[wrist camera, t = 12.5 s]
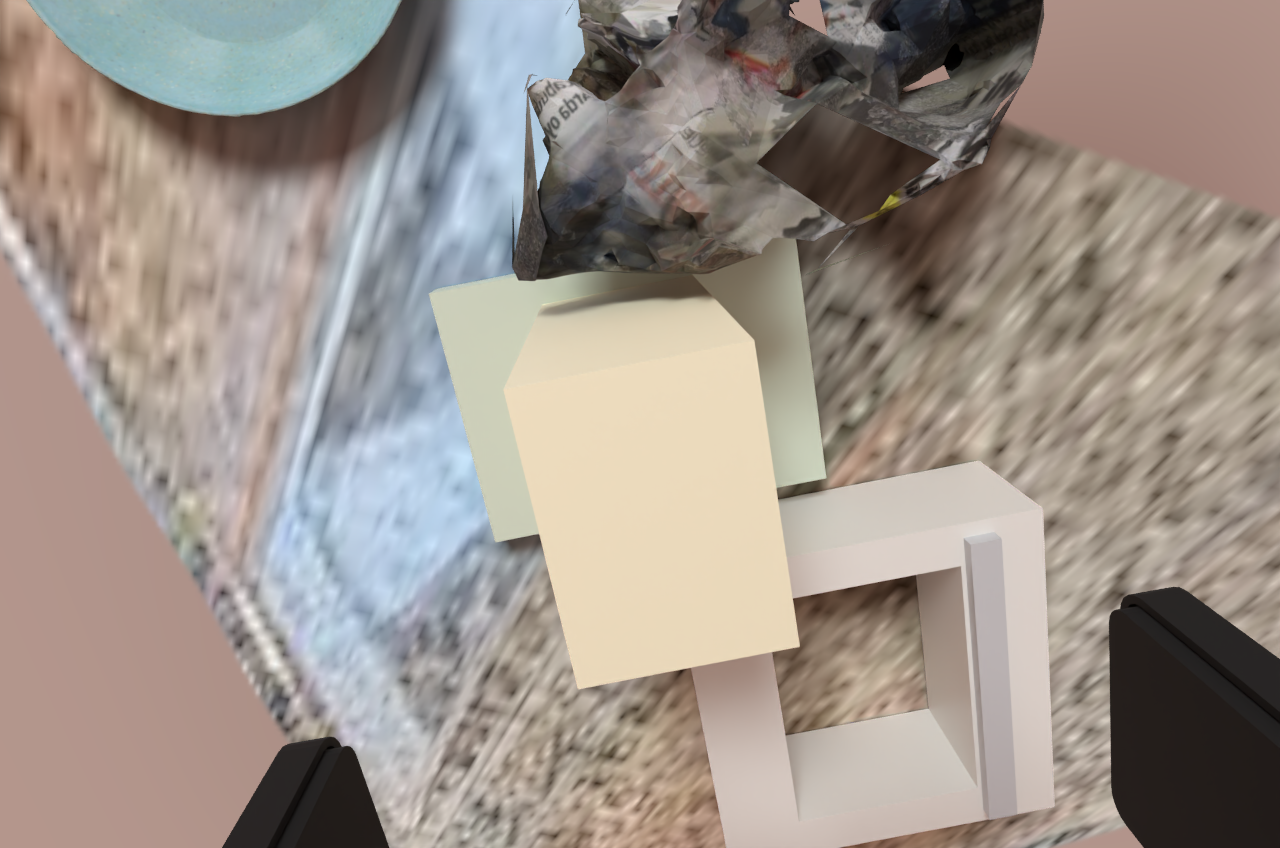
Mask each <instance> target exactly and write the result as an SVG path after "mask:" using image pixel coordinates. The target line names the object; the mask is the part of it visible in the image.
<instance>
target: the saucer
mask: <svg viewBox="0 0 1280 848" xmlns="http://www.w3.org/2000/svg"><path fill="white" fill-rule="evenodd" d="M401 1H402V0H27V2H28V3H29V4H30V6H31V7H32V8H33V10H34V11H35V12H36V14H37V15H38V16H39V17H40V18H41V19H42V21H43V22H44V23H45V24H46V25H47V26H48V27H49V28H50V29H51V30H52V31H53V32H54V33H55V34H56V37H57V38H58V39H60V40H61V41H62V42H63V44H64V45H65V46H66V47H67V48H69V49H70V51H71V52H72V53H75V54H76V55H77V56H79V57H80V58H81V59H82V60H83V61H84V62H85V63H87V64H88V65H90V66H91V67H92V68H94V69H95V70H96V71H98V72H99V73H101V74H103V75H104V76H106V77H108V78H109V79H111V80H112V81H114V82H116V83H118V84H119V85H121V86H123V87H124V88H126V89H128V90H130V91H133V92H135V93H137V94H139V95H141V96H143V97H145V98H147V99H149V100H153V101H156V102H158V103H161V104H164V105H168V106H170V107H173V108H177V109H181V110H184V111H190V112H194V113H202V114H209V115H223V116H232V117H235V116H238V117H240V116H241V115H257V114H261V113H265V112H273V111H276V110H281V109H284V108H287V107H290V106H293V105H295V104H299V103H301V102H303V101H305V100H307V99H310V98H312V97H314V96H316V95H318V94H320V93H321V92H323V91H325V90H326V89H328V88H330V87H331V86H333V85H334V84H336V83H337V82H339V81H340V80H341V79H342V78H344V77H345V76H346V75H348V74H349V73H350V72H352V71H353V70H355V68H356V67H357V66H358V65H359V64H360V63H361V61H362V60H363V59H365V58H366V57H367V56H368V54H369V53H370V51H371V50H372V49H373V48H374V47H375V46H376V45H377V44H378V43H379V40H380V39H381V38H382V36H383V35H384V34H385V32H386V30H387V28H388V27H389V25H390V24H391V22H392V20H393V18H394V16H395V14H396V12H397V9H398V7H399V5H400V3H401Z"/></svg>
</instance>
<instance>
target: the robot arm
mask: <svg viewBox="0 0 1280 848" xmlns="http://www.w3.org/2000/svg"><path fill="white" fill-rule="evenodd" d="M1109 651H1110V722H1111V788H1112V795H1113V799H1114V803H1115V805H1116V808H1117V810H1118V812H1119V814H1120V816H1121V818H1122V820H1123V821H1124V823H1125V824H1126V825H1127V827H1128V828H1129V829H1130V831H1131V832H1132V833H1133V834H1134V836H1135V837H1136V838H1137V840H1138V841H1139V842H1140V843H1141V845H1142V846H1143V847H1144V848H1280V659H1279V658H1277V657H1276V656H1275V655H1273V654H1272V653H1271V652H1269V651H1268V650H1267V649H1265V648H1264V647H1262V646H1261V645H1260V644H1258V643H1257V642H1256V641H1254V640H1253V639H1252V638H1250V637H1249V636H1247V635H1246V634H1245V633H1243V632H1242V631H1241V630H1239V629H1238V628H1237V627H1235V626H1234V625H1232V624H1231V623H1230V622H1228V621H1227V620H1226V619H1224V618H1223V617H1222V616H1220V615H1219V614H1217V613H1216V612H1215V611H1213V610H1212V609H1211V608H1209V607H1208V606H1206V605H1205V604H1204V603H1202V602H1201V601H1200V600H1198V599H1197V598H1196V597H1194V596H1193V595H1191V594H1190V593H1189V592H1187V591H1186V590H1184V589H1182V588H1180V587H1170V588H1164V589H1159V590H1153V591H1147V592H1142V593H1136V594H1131V595H1127V596H1126V597H1124V598H1123V601H1122V603H1121V608H1120V609H1118V610H1114V611H1113V612H1112V613H1111V615H1110V619H1109ZM222 848H389V846H388V843H387V840H386V837H385V834H384V832H383V829H382V826H381V823H380V820H379V818H378V815H377V812H376V809H375V806H374V803H373V801H372V798H371V795H370V792H369V789H368V787H367V784H366V781H365V778H364V775H363V773H362V770H361V767H360V764H359V761H358V759H357V756H356V754H355V752H354V750H353V749H352V748H351V747H349V746H344V747H341V745H340V743H339V741H338V740H337V739H336V738H334V737H325V738H319V739H314V740H308V741H302V742H297V743H291V744H287V745H285V746H283V747H282V748H281V750H280V751H279V752H278V754H277V756H276V757H275V759H274V761H273V762H272V764H271V766H270V767H269V769H268V771H267V773H266V774H265V776H264V777H263V779H262V781H261V783H260V784H259V786H258V788H257V789H256V791H255V793H254V794H253V796H252V798H251V800H250V801H249V803H248V805H247V806H246V808H245V810H244V812H243V813H242V815H241V816H240V818H239V820H238V822H237V823H236V825H235V827H234V828H233V830H232V832H231V833H230V835H229V837H228V838H227V840H226V842H225V844H224V845H223V847H222Z"/></svg>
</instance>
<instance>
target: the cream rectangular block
mask: <svg viewBox="0 0 1280 848" xmlns="http://www.w3.org/2000/svg"><path fill="white" fill-rule="evenodd" d="M503 391H504V395H505V399H506V403H507V407H508V411H509V415H510V419H511V423H512V427H513V431H514V435H515V439H516V443H517V447H518V451H519V455H520V459H521V463H522V467H523V471H524V475H525V479H526V483H527V487H528V491H529V495H530V499H531V503H532V507H533V511H534V515H535V519H536V523H537V527H538V531H539V535H540V539H541V543H542V547H543V551H544V555H545V559H546V563H547V567H548V571H549V575H550V579H551V583H552V587H553V591H554V595H555V599H556V603H557V607H558V611H559V615H560V619H561V623H562V627H563V631H564V635H565V639H566V643H567V647H568V651H569V655H570V659H571V663H572V667H573V671H574V675H575V679H576V683H577V687H578V689H582V688H587V687H593V686H598V685H603V684H608V683H613V682H619V681H624V680H629V679H634V678H640V677H645V676H650V675H655V674H660V673H666V672H671V671H676V670H681V669H686V668H692V667H697V666H702V665H707V664H712V663H718V662H723V661H728V660H733V659H739V658H744V657H749V656H754V655H759V654H765V653H770V652H775V651H780V650H785V649H791V648H796V647H800V644H799V638H798V631H797V624H796V618H795V611H794V604H793V597H792V591H791V584H790V577H789V570H788V564H787V557H786V550H785V543H784V537H783V530H782V523H781V516H780V510H779V503H778V496H777V489H776V483H775V476H774V469H773V462H772V456H771V449H770V442H769V435H768V429H767V422H766V415H765V408H764V402H763V395H762V388H761V381H760V375H759V368H758V361H757V355H756V348H755V341H754V339H753V338H752V337H751V336H750V335H749V334H748V333H747V332H746V331H745V330H744V329H743V328H742V327H741V326H740V325H739V324H738V323H737V321H736V320H735V319H734V318H733V317H732V316H731V315H730V314H729V313H728V312H727V311H726V310H725V309H724V308H723V307H722V306H721V305H720V303H719V302H718V301H717V300H716V299H715V298H714V297H713V296H712V295H711V294H710V293H709V292H708V291H707V290H706V289H705V288H704V287H703V285H702V284H701V283H700V282H699V281H698V280H697V279H696V278H695V277H694V276H693V275H689V276H684V277H679V278H674V279H669V280H664V281H659V282H653V283H648V284H643V285H638V286H633V287H628V288H623V289H618V290H613V291H608V292H603V293H598V294H593V295H588V296H582V297H577V298H572V299H567V300H562V301H557V302H552V303H547V304H542V306H541V308H540V310H539V313H538V315H537V317H536V319H535V321H534V323H533V326H532V328H531V330H530V332H529V334H528V337H527V339H526V341H525V343H524V345H523V348H522V350H521V352H520V354H519V356H518V359H517V361H516V363H515V365H514V367H513V369H512V372H511V374H510V376H509V378H508V380H507V383H506V385H505V387H504V389H503Z"/></svg>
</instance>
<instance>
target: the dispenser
mask: <svg viewBox="0 0 1280 848" xmlns="http://www.w3.org/2000/svg"><path fill="white" fill-rule="evenodd" d="M778 503H779V510H780V516H781V523H782V530H783V537H784V543H785V550H786V557H787V564H788V570H789V577H790V584H791V591H792V597H793V598H798V597H803V596H808V595H813V594H819V593H824V592H829V591H834V590H840V589H845V588H850V587H855V586H860V585H866V584H871V583H876V582H881V581H886V580H892V579H897V578H902V577H907V576H912V575H916V581H917V592H918V602H919V613H920V624H921V634H922V645H923V656H924V666H925V677H926V687H927V698H928V709H923V710H918V711H913V712H908V713H902V714H897V715H892V716H887V717H881V718H876V719H871V720H866V721H860V722H855V723H850V724H845V725H839V726H834V727H829V728H824V729H818V730H813V731H808V732H803V733H797V734H792V735H787V736H785V730H784V724H783V717H782V711H781V705H780V699H779V692H778V686H777V680H776V674H775V667H774V661H773V655H772V652H770V653H765V654H759V655H754V656H749V657H744V658H739V659H733V660H728V661H723V662H718V663H712V664H707V665H702V666H697V667H692V668H691V671H692V676H693V681H694V686H695V691H696V696H697V701H698V706H699V712H700V717H701V722H702V727H703V732H704V737H705V742H706V747H707V752H708V757H709V762H710V767H711V773H712V778H713V783H714V788H715V793H716V798H717V803H718V808H719V813H720V818H721V823H722V828H723V833H724V839H725V844H726V848H840V847H845V846H851V845H856V844H861V843H867V842H872V841H877V840H882V839H888V838H893V837H898V836H904V835H909V834H914V833H920V832H925V831H930V830H935V829H941V828H946V827H951V826H957V825H962V824H967V823H973V822H978V821H983V820H988V819H989V820H992V819H998V818H1003V817H1008V816H1014V815H1017V814H1020V813H1026V812H1031V811H1036V810H1041V809H1047V808H1052V807H1055V803H1054V778H1053V752H1052V727H1051V702H1050V676H1049V651H1048V625H1047V600H1046V575H1045V549H1044V524H1043V508H1042V507H1040V506H1039V505H1038V504H1036V503H1035V502H1034V501H1032V500H1031V499H1030V498H1028V497H1027V496H1026V495H1024V494H1023V493H1022V492H1020V491H1019V490H1018V489H1016V488H1015V487H1014V486H1012V485H1011V484H1010V483H1008V482H1007V481H1006V480H1004V479H1003V478H1002V477H1000V476H999V475H998V474H996V473H995V472H994V471H992V470H991V469H990V468H988V467H987V466H986V465H984V464H983V463H982V462H980V461H975V462H970V463H964V464H959V465H954V466H949V467H944V468H938V469H933V470H928V471H923V472H918V473H913V474H907V475H902V476H897V477H892V478H887V479H882V480H876V481H871V482H866V483H861V484H856V485H851V486H845V487H840V488H835V489H830V490H825V491H820V492H814V493H809V494H804V495H799V496H794V497H789V498H783V499H778Z"/></svg>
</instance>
